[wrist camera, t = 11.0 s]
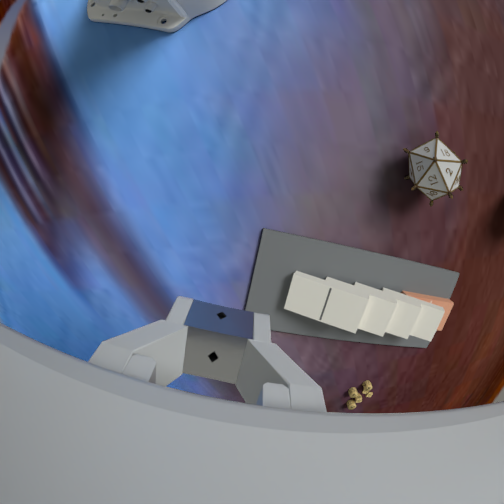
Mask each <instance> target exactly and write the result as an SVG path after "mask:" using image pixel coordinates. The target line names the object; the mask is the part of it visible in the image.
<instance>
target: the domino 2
mask: <svg viewBox="0 0 504 504" xmlns="http://www.w3.org/2000/svg"><path fill="white" fill-rule="evenodd" d="M326 281H329V282H333V283H336V284H339V285H342V286H345V287H348V288H351V289H354V290H357V291H360V292H363V293H366V294H369V301H368V304H367V306H366V309H365V311H364V314H363V316H362V319H361V321H360V324H359V326H358V329H361V330H364V331H367V332H370V333H373V334H376V335H379V336H382V337H383V336H384V333H385V331H386V329H387V327H388V324H389V322H390V320H391V317H392V315H393V313H394V310H395V308H396V305H397V300H396V299H394V298H391V297H388V296H385V295H382V294H379V293H376V292H373V291H370V290H367V289H364V288H361V287H358V286H355V285H352V284H348V283H345V282H342V281H339V280H336V279H333V278H330V277H327V278H326Z"/></svg>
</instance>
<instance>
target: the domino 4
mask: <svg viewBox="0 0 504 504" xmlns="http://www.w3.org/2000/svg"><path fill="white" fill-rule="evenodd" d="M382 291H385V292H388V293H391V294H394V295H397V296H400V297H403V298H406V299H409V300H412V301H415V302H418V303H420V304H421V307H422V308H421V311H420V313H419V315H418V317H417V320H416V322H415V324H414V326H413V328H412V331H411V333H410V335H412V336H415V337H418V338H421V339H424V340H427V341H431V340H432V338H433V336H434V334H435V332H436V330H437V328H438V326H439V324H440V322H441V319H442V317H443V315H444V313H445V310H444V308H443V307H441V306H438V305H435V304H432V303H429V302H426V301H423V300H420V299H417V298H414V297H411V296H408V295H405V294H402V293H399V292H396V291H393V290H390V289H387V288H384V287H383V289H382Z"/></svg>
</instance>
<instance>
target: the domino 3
mask: <svg viewBox="0 0 504 504" xmlns="http://www.w3.org/2000/svg"><path fill="white" fill-rule="evenodd" d="M354 285H355V286H358V287H361V288H364V289H367V290H370V291H373V292H376V293H379V294H382V295H385V296H388V297H391V298H394V299H396V300H397V305H396V308H395V310H394V313H393V315H392V317H391V320H390V322H389V324H388V327H387V329H386V331H385V332H387V333H390V334H393V335H396V336H399V337H402V338H405V339H408V337H409V335H410V333H411V331H412V328H413V326H414V324H415V322H416V320H417V317H418V315H419V313H420V311H421V308H422V307H421V304H420V303H418V302H415V301H412V300H409V299H406V298H403V297H400V296H397V295H394V294H391V293H388V292H385V291H382V290H379V289H376V288H373V287H370V286H367V285H364V284H361V283H358V282H355V284H354Z"/></svg>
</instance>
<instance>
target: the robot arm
mask: <svg viewBox="0 0 504 504" xmlns="http://www.w3.org/2000/svg"><path fill="white" fill-rule="evenodd" d="M225 1H226V0H88V5H87V13H88V17H89V19H90V20H91V21H94V22H105V23H114V24H123V25H130V26H137V27H143V28H149V29H155V30H160V31H165V32H175V31H177V30H178V29H180V28H181V27H183V26H184V25H185V24H186V23H187V22H188V21H189V20H191V19H192V18H194V17H196V16H198V15H200V14H203V13H206V12H208V11H210V10H212V9H214V8H216V7H218V6H219V5H221V4H222V3H224V2H225ZM163 21H167V22H166V23H164V24H162V22H163ZM182 373H186V374H191V375H196V376H201V377H206V378H211V379H215V380H220V381H224V382H229V383H234V384H236V387H237V388H238V390H239V392H240V394H241V395H242V397H243V399H244V400H245V402H246V403H241V402H235V401H229V400H224V399H219V398H213V397H209V396H204V395H199V394H195V393H190V392H186V391H182V390H177V389H173V388H169V387H166V386H167V385H168V384H169V383H171V382H172V381H174V380H175V379H176V378H178V377H179V376H180V375H182ZM0 504H504V401H502V402H497V403H492V404H486V405H480V406H474V407H467V408H459V409H450V410H440V411H429V412H413V413H381V414H366V413H333V412H327V411H326V407H325V402H324V397H323V393H322V388H321V387H320V386H319V385H318V384H317V383H315V382H314V381H313V380H312V379H311V378H310V377H309V376H308V375H307V374H306V373H305V372H304V371H303V370H302V369H301V368H300V367H299V366H298V365H297V364H296V363H295V362H294V361H293V360H291V359H290V358H289V357H288V356H287V355H286V354H285V353H284V352H283V351H282V350H281V349H280V348H279V347H278V346H277V345H276V344H274V343H271V330H270V316H269V315H268V314H262V313H255V312H250V311H245V310H239V309H234V308H228V307H224V306H220V305H215V304H211V303H207V302H203V301H199V300H195V299H194V300H193V299H192V298H187V297H182V296H178V297H177V299H176V301H175V303H174V305H173V307H172V308H171V310H170V312H169V314H168V316H167V318H166V320H159V321H156V322H154V323H151V324H148V325H146V326H143V327H141V328H138V329H135V330H133V331H130V332H127V333H125V334H122V335H119V336H116V337H114V338H111V339H108V340H106V341H103V342H102V343H101V344H100V346H99V347H98V348H97V350H96V351H95V353H94V354H93V356H92V357H91V358H90V360H89V361H88V362H86V361H84V360H81V359H79V358H76V357H73V356H71V355H68V354H66V353H64V352H61V351H59V350H56V349H54V348H52V347H49V346H47V345H45V344H43V343H40V342H38V341H36V340H34V339H32V338H30V337H28V336H26V335H23V334H21V333H19V332H17V331H15V330H13V329H11V328H10V327H8V326H6V325H4V324H2V323H0Z"/></svg>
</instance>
